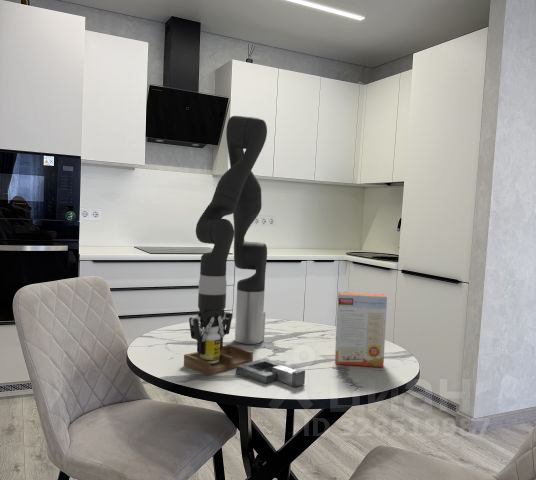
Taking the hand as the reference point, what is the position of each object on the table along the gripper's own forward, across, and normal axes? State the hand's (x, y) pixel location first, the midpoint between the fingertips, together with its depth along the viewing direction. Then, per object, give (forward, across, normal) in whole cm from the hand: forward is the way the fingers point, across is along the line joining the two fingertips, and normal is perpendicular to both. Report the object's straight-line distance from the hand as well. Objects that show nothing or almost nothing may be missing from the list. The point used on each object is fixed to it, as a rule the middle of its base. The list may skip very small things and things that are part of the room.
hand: (209, 352), depth 138 cm
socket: (+4, +8, -14) cm, 16 cm away
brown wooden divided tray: (+4, +4, 0) cm, 6 cm away
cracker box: (+5, +37, -25) cm, 45 cm away
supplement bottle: (+3, 0, 0) cm, 3 cm away
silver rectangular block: (+4, +8, -22) cm, 23 cm away
